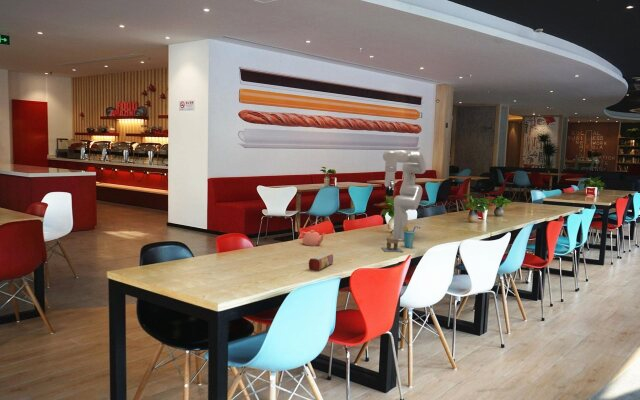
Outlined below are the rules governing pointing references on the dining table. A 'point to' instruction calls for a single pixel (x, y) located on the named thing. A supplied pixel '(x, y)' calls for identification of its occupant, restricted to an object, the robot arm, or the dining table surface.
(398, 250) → the mat
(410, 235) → the cup
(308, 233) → the teapot
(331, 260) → the snack package
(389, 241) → the brown box with pegs
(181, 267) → the dining table surface
